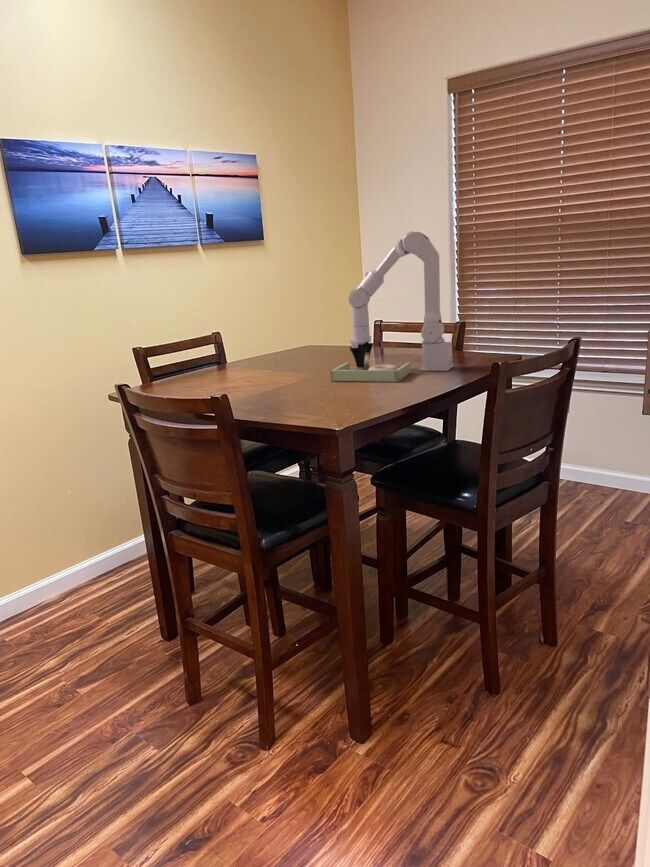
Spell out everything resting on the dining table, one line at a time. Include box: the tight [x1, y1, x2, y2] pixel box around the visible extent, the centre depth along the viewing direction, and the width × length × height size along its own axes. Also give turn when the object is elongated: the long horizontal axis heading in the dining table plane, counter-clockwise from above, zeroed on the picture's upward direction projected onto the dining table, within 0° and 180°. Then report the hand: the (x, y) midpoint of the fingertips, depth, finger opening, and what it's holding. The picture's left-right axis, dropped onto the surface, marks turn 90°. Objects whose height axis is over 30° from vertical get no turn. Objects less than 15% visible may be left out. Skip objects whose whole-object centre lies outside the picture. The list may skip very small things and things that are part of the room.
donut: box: [368, 364, 399, 370], centre depth 205 cm, size 10×4×10 cm
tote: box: [329, 361, 412, 383], centre depth 207 cm, size 22×15×4 cm
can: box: [355, 352, 370, 370], centre depth 220 cm, size 4×4×6 cm
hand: (362, 366), depth 221 cm, fingers closed on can, 4 cm apart
